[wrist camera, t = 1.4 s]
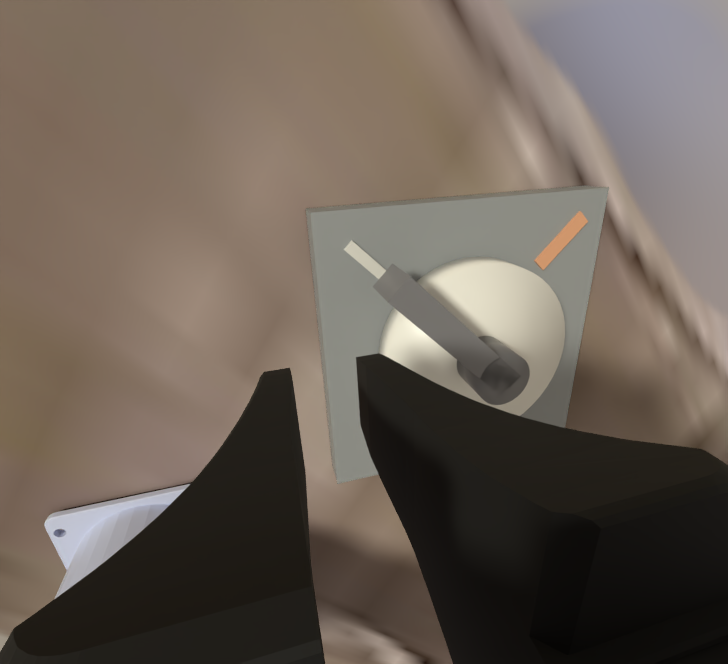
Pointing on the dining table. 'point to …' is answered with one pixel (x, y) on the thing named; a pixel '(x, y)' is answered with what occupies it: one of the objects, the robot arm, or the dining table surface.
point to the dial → (476, 329)
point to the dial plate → (423, 254)
